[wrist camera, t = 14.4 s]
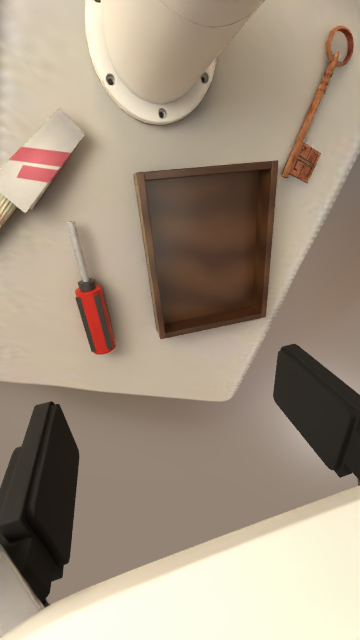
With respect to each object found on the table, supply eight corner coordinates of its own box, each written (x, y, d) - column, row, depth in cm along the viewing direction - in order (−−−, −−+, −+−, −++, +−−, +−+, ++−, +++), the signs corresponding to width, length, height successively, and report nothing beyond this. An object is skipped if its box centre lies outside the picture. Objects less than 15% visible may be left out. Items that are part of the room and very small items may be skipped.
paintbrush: (88, 138, 25) (-34, 282, 28) (90, 141, 27) (-22, 274, 31) (52, 97, 23) (-74, 257, 26) (57, 105, 25) (-59, 251, 29)
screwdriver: (60, 221, 30) (50, 225, 27) (87, 218, 30) (81, 221, 27) (95, 343, 38) (90, 356, 35) (116, 340, 38) (114, 353, 35)
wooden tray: (133, 174, 30) (136, 172, 27) (263, 162, 33) (278, 160, 30) (156, 328, 39) (160, 339, 37) (255, 308, 42) (266, 317, 40)
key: (301, 187, 36) (364, 51, 30) (306, 187, 35) (371, 48, 30) (271, 170, 33) (333, 19, 28) (275, 170, 32) (340, 15, 27)
